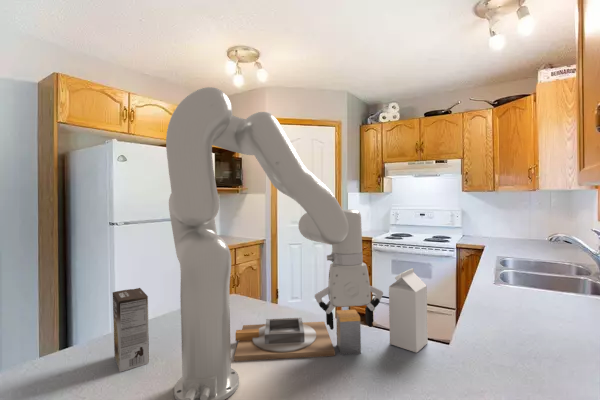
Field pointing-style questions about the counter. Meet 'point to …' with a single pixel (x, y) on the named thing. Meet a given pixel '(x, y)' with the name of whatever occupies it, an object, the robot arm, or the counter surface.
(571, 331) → the counter surface
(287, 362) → the counter surface
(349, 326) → the grey orange block
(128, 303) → the coffee box
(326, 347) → the rosette board
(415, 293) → the milk carton
